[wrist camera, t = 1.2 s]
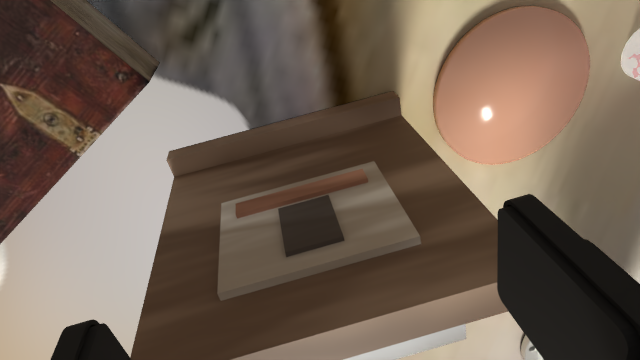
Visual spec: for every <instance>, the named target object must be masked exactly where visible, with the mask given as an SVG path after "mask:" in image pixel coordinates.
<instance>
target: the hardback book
mask: <svg viewBox="0 0 640 360" xmlns="http://www.w3.org/2000/svg"><path fill="white" fill-rule="evenodd" d="M158 65H159V62H158V61H157V60H156V59H155V58H153V57H152V56H151V55H150V54H149V53H148V52H146V51H145V50H144V49H143V48H142V47H140V46H139V45H138V44H137V43H136V42H135V41H133V40H132V39H131V38H130V37H129V36H128V35H126V34H125V33H124V32H123V31H122V30H121V29H119V28H118V27H117V26H116V25H115V24H114V23H112V22H111V21H110V20H109V19H108V18H107V17H105V16H104V15H103V14H102V13H101V12H99V11H98V10H97V9H96V8H95V7H94V6H92V5H91V4H90V3H89V2H88V1H87V0H0V244H1V243H2V242H3V240H4V239H5V238H6V237H7V236H8V235H9V234H10V233H11V232H12V231H13V230H14V228H15V227H16V226H17V225H18V224H19V223H20V222H21V221H22V220H23V219H24V218H25V217H26V215H27V214H28V213H29V212H30V211H31V210H32V209H33V208H34V207H35V206H36V205H37V204H38V202H39V201H40V200H41V199H42V198H43V197H44V196H45V195H46V194H47V193H48V192H49V190H50V189H51V188H52V187H53V186H54V185H55V184H56V183H57V182H58V181H59V179H61V177H62V176H63V175H64V174H65V173H66V172H67V171H68V170H69V169H70V168H71V167H72V165H73V164H74V163H75V162H76V161H77V160H78V159H79V158H80V157H81V156H82V155H83V153H84V152H85V151H86V150H87V149H88V148H89V147H90V146H91V145H92V144H93V143H94V142H95V141H96V139H97V138H98V137H99V136H100V135H101V134H102V133H103V132H104V131H105V130H106V129H107V127H108V126H109V125H110V124H111V123H112V122H113V121H114V120H115V119H116V118H117V117H118V116H119V114H120V113H121V112H122V111H123V110H124V109H125V108H126V107H127V106H128V105H129V103H130V102H131V101H132V100H133V99H134V98H135V97H136V96H137V95H138V94H139V93H140V92H141V91H142V89H143V88H144V87H145V86H146V85H147V84H148V83H149V82H150V80H151V78H152V76H153V74H154V72H155V71H156V69H157V67H158Z"/></svg>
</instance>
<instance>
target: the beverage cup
mask: <svg viewBox="0 0 640 360" xmlns="http://www.w3.org/2000/svg"><path fill="white" fill-rule="evenodd" d="M621 67H622V69H623V71H624V73H626V74H627V75H629V76H630V77H632V78H634V79H636V80H639V81H640V29H638V30H637V31H636V32H635V33H633V35H632V36H631V37H630V39H629V40H628V41H627V43H626V44H625V47H624V49H623V52H622V54H621Z"/></svg>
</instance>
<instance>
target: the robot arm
mask: <svg viewBox="0 0 640 360" xmlns="http://www.w3.org/2000/svg"><path fill="white" fill-rule="evenodd" d="M497 290H498V294H499V297H500V299H501V301H502V303H503V304H504V306H505V307H506V308H507V310H508V311H509V313H510V314H511V315H512V317H513V318H514V319H515V321H516V322H517V324H518V325H519V326H520V328H521V329H522V330H523V332H524V333H525V337H524V339H523V342H522V346H521V355H522V358H523V360H640V284H639V283H638V282H637V281H636V280H634V279H633V278H632V277H631V276H630V275H629V274H628V273H626V272H625V271H624V270H623V269H622V268H621V267H620V266H618V265H617V264H616V263H615V262H614V261H613V260H611V259H610V258H609V257H608V256H607V255H606V254H605V253H603V252H602V251H601V250H600V249H599V248H598V247H596V246H595V245H594V244H593V243H591V242H590V241H588V240H585V239H583V238H581V237H580V236H579V235H578V234H577V233H576V232H575V231H573V230H572V229H571V228H570V227H569V226H568V225H567V224H566V223H564V222H563V221H562V220H561V219H560V218H559V217H558V216H556V215H555V214H554V213H553V212H552V211H551V210H550V209H548V208H547V207H546V206H545V205H544V204H543V203H542V202H541V201H539V200H538V199H537V198H536V197H535V196H533V195H531V194H528V195H524V196H521V197H517V198H514V199H510V200H507V201H505V203H504V206H503V208H501V209H499V211H498V251H497ZM51 360H131V359H130V357H129V356H128V354H127V353H126V352H125V350H124V349H123V347H122V346H121V344H120V343H119V342H118V340H117V339H116V337H115V336H114V334H113V333H112V332H111V330H110V329H109V328H108V326H107V325H106V324H104V323H103V324H99V323H98V322H97V321H96V320H89V321H86V322H82V323H79V324H75V325H72V326H69V327H66V328H65V329H64V330H63V332H62V334H61V336H60V338H59V341H58V343H57V346H56V348H55V350H54V353H53V355H52V358H51Z"/></svg>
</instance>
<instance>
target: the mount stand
mask: <svg viewBox="0 0 640 360" xmlns="http://www.w3.org/2000/svg"><path fill="white" fill-rule="evenodd" d="M167 162H168V164H169V166H170V168H171V171H172V173H173V175H174V180H173V185H172V189H171V193H170V197H169V201H168V205H167V209H166V213H165V218H164V222H163V226H162V230H161V234H160V238H159V242H158V247H157V250H156V254H155V259H154V263H153V267H152V271H151V275H150V279H149V283H148V287H147V291H146V296H145V300H144V304H143V308H142V312H141V316H140V320H139V324H138V329H137V333H136V337H135V341H134V345H133V349H132V353H131V357H130V359H131V360H396V359H400V358H403V357H406V356H410V355H413V354H417V353H420V352H423V351H427V350H430V349H434V348H437V347H440V346H444V345H447V344H450V343H454V342H457V341H461V340H464V339H466V326H465V324H467V323H470V322H473V321H477V320H480V319H484V318H487V317H490V316H494V315H497V314H501V313H504V312H507V311H508V310H507V308H506V307H505V306H504V304H503V303H502V301H501V299H500V297H499V294H498V290H497V251H498V220H497V219H496V218H495V217H494V216H493V215H492V213H491V212H490V211H489V210H488V209H487V208H486V207H485V206H484V205H483V204H482V203H481V201H480V200H479V199H478V198H477V197H476V196H475V195H474V194H473V193H472V192H471V191H470V189H469V188H468V187H467V186H466V185H465V184H464V183H463V182H462V181H461V180H460V179H459V177H458V176H457V175H456V174H455V173H454V172H453V171H452V170H451V169H450V168H449V167H448V165H447V164H446V163H445V162H444V161H443V160H442V159H441V158H440V157H439V156H438V155H437V153H436V152H435V151H434V150H433V149H432V148H431V147H430V146H429V145H428V144H427V143H426V141H425V140H424V139H423V138H422V137H421V136H420V135H419V134H418V133H417V132H416V131H415V130H414V128H413V127H412V126H411V125H410V124H409V123H408V122H407V121H406V120H405V119H404V118H403V116H402V115H401V107H400V99H399V97H398V96H397V95H396V94H395V93H394V92H393V91H392V92H388V93H384V94H380V95H377V96H373V97H369V98H366V99H362V100H358V101H354V102H351V103H347V104H343V105H340V106H336V107H332V108H328V109H325V110H321V111H317V112H314V113H310V114H306V115H302V116H299V117H295V118H291V119H288V120H284V121H280V122H276V123H273V124H269V125H265V126H261V127H258V128H254V129H250V130H247V131H243V132H239V133H235V134H232V135H228V136H224V137H221V138H217V139H214V140H209V141H206V142H203V143H198V144H195V145H191V146H187V147H183V148H180V149H176V150H173V151H170V152H169V154H168V157H167Z"/></svg>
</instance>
